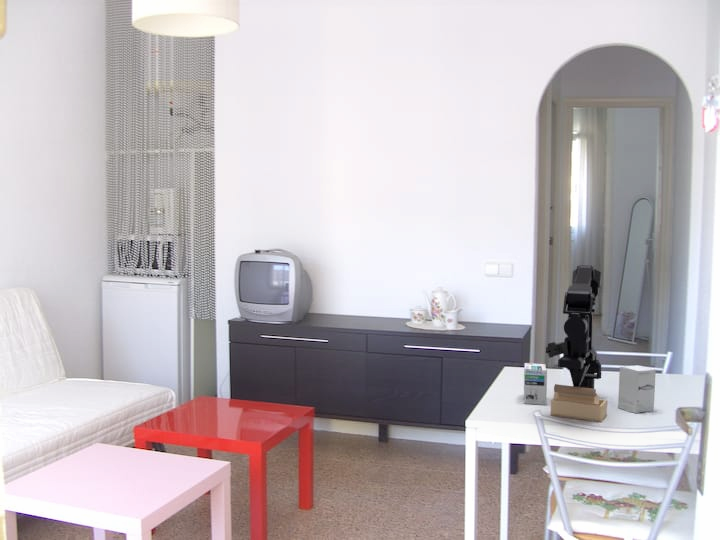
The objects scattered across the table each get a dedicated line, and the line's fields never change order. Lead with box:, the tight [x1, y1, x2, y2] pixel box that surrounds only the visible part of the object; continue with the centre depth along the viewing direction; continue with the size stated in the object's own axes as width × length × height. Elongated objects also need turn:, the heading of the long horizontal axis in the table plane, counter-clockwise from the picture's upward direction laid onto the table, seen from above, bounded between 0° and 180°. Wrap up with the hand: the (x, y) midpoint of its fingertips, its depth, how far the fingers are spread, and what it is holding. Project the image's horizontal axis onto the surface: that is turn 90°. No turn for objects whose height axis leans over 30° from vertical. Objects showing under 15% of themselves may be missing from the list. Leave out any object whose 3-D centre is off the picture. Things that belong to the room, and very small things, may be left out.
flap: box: [552, 383, 601, 405], centre depth 213 cm, size 3×13×5 cm
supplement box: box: [617, 364, 657, 414], centre depth 225 cm, size 7×7×13 cm
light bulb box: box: [523, 362, 548, 406], centre depth 235 cm, size 11×7×11 cm, turn 168°
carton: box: [549, 398, 608, 423], centre depth 218 cm, size 8×14×4 cm, turn 61°
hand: (576, 388), depth 213 cm, fingers closed
